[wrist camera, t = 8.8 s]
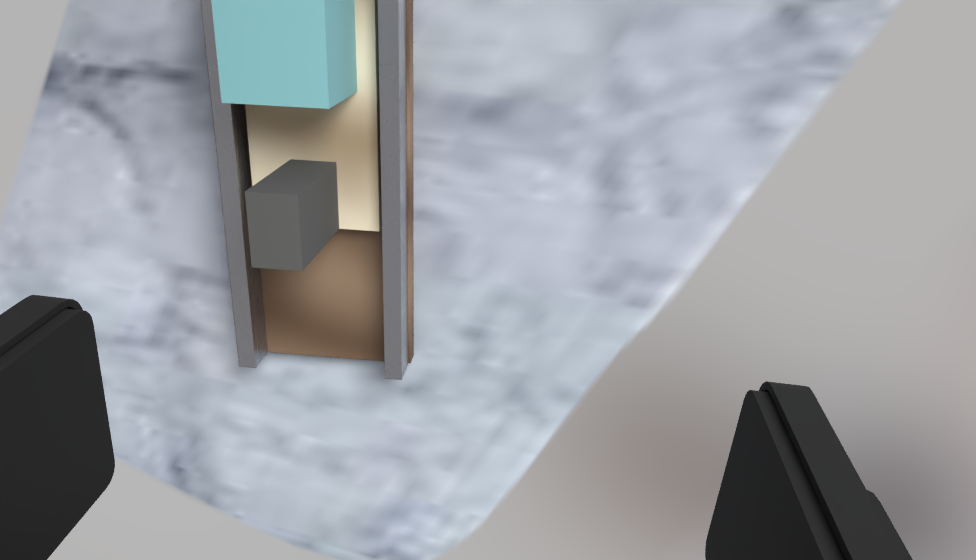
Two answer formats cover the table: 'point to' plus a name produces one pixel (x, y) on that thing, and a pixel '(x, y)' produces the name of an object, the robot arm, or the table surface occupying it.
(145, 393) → the table surface
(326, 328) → the board
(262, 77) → the cube
